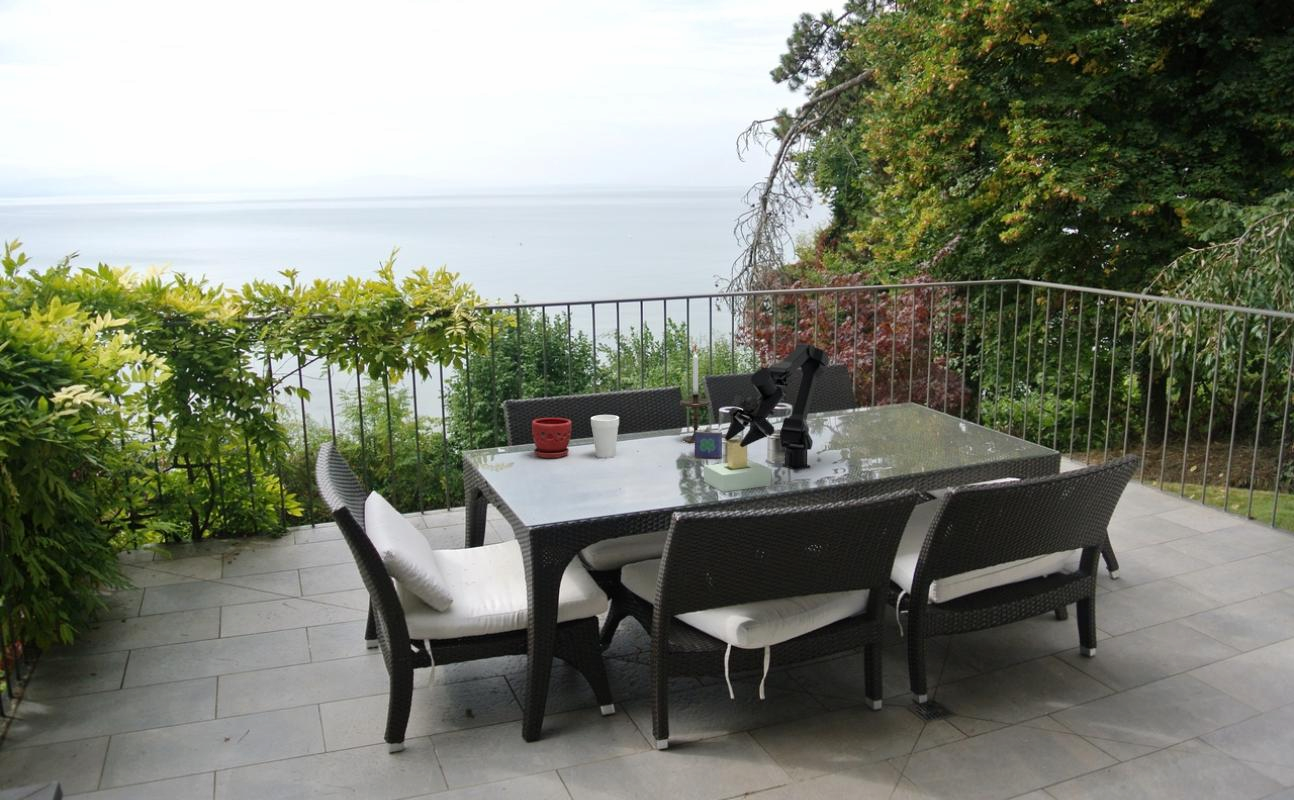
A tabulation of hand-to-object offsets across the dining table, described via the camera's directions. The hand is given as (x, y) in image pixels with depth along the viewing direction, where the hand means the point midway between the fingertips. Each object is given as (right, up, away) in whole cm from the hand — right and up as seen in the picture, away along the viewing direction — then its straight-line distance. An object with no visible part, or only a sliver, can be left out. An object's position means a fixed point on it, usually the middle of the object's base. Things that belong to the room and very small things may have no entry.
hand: (733, 443), depth 280 cm
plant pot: (-57, -6, +40) cm, 70 cm away
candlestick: (-8, -2, +58) cm, 59 cm away
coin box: (+1, -12, +3) cm, 13 cm away
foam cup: (-39, -6, +38) cm, 55 cm away
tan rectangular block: (+1, -12, +3) cm, 13 cm away
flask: (-5, -7, +34) cm, 35 cm away
